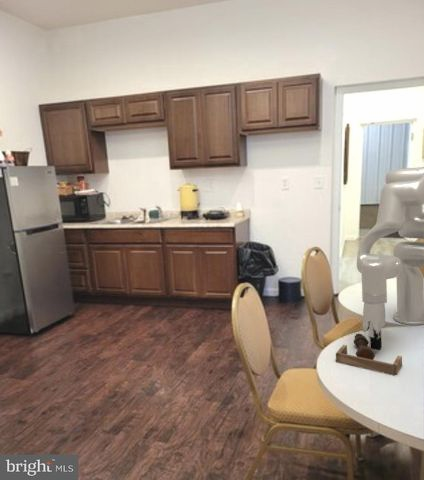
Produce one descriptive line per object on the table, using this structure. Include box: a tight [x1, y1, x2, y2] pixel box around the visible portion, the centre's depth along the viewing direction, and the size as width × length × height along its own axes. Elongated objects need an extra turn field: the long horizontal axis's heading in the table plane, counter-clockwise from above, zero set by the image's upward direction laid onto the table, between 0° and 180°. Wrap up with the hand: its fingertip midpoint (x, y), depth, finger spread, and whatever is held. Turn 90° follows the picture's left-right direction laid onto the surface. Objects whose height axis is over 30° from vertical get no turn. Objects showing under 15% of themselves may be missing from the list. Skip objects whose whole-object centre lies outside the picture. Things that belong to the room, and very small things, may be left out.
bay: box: [335, 344, 403, 376], centre depth 121 cm, size 7×18×3 cm, turn 52°
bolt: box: [353, 333, 376, 360], centre depth 129 cm, size 6×5×15 cm
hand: (376, 348), depth 128 cm, fingers closed
